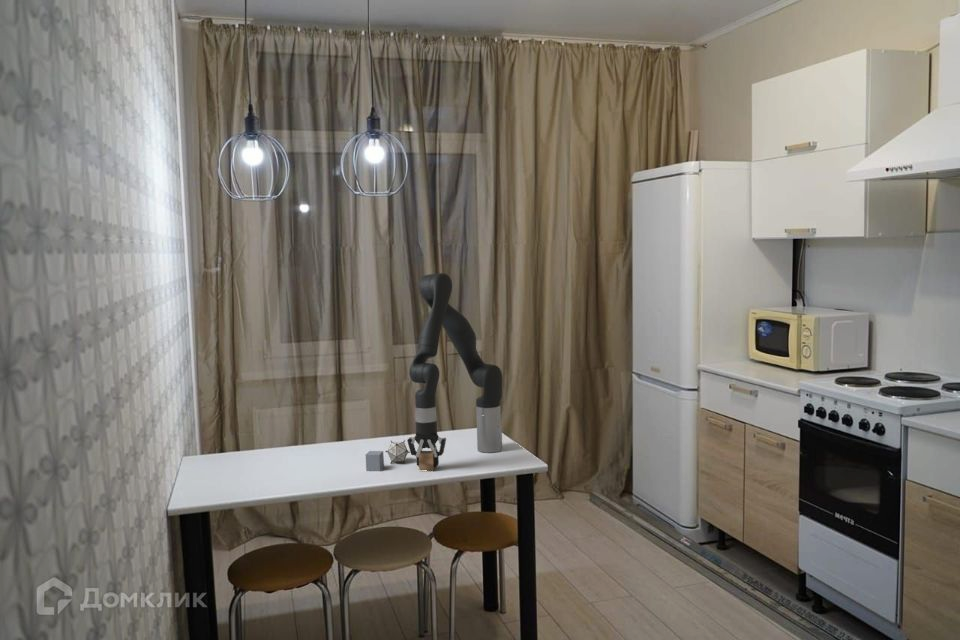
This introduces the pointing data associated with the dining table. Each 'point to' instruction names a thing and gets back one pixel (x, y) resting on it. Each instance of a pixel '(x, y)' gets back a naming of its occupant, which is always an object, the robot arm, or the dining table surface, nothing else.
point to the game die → (397, 451)
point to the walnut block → (426, 461)
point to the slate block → (374, 460)
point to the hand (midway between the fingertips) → (427, 466)
